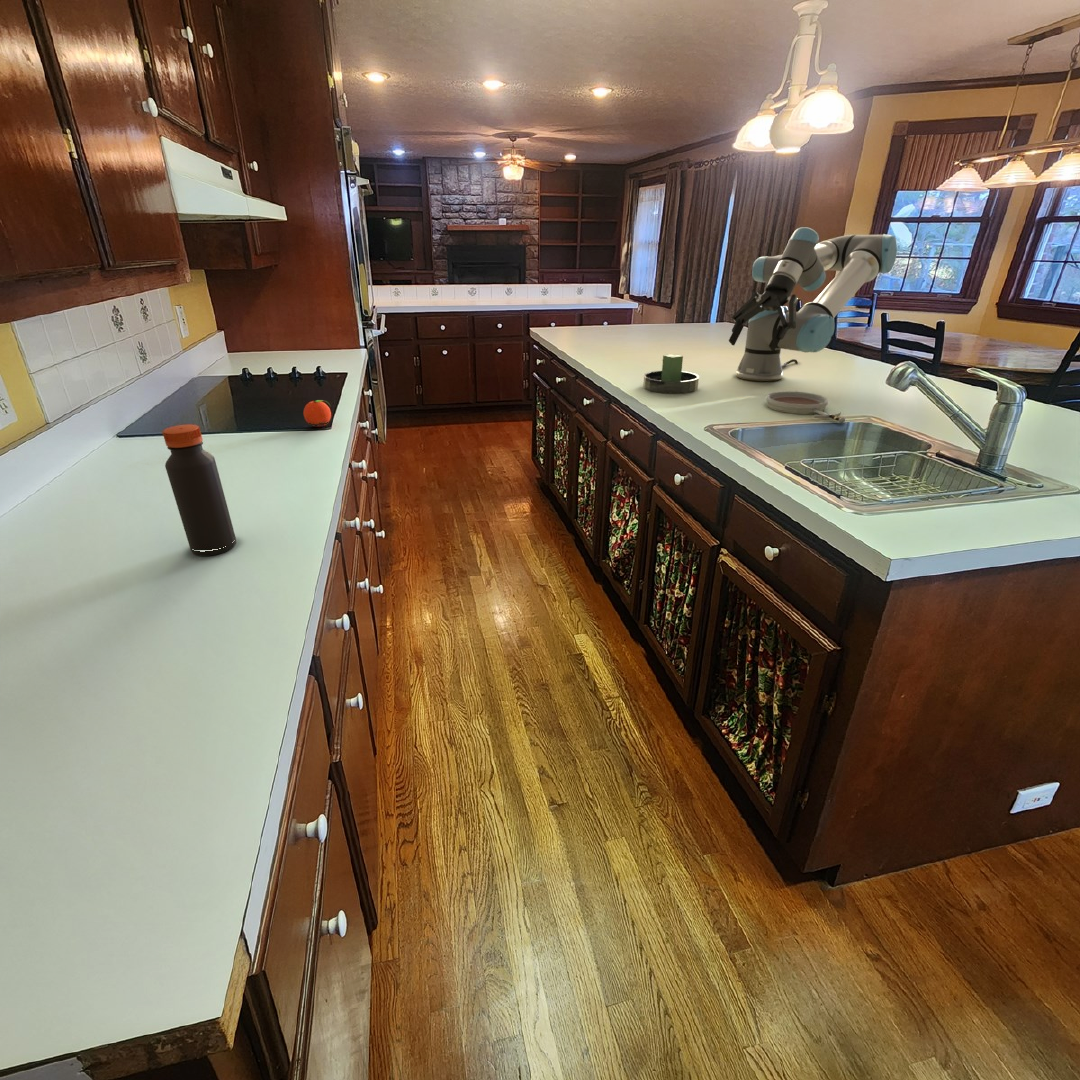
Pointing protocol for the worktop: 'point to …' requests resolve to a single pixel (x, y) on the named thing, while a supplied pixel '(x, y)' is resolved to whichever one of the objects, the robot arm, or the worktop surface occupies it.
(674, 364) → the green block
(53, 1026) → the worktop surface
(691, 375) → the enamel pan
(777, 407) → the frying pan
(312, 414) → the clementine
